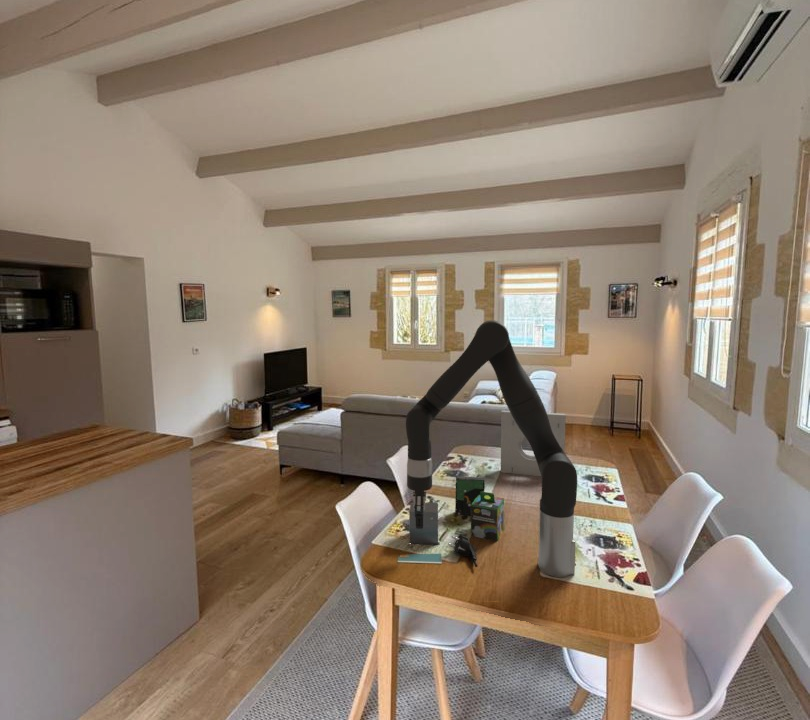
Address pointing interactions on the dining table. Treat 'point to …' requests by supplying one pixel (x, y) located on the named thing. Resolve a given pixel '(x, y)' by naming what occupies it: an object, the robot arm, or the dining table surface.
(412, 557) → the mat
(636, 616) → the dining table surface
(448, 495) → the dining table surface
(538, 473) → the mounting panel
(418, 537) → the unit
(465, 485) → the disk drive
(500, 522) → the chalk box
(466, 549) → the power plug
